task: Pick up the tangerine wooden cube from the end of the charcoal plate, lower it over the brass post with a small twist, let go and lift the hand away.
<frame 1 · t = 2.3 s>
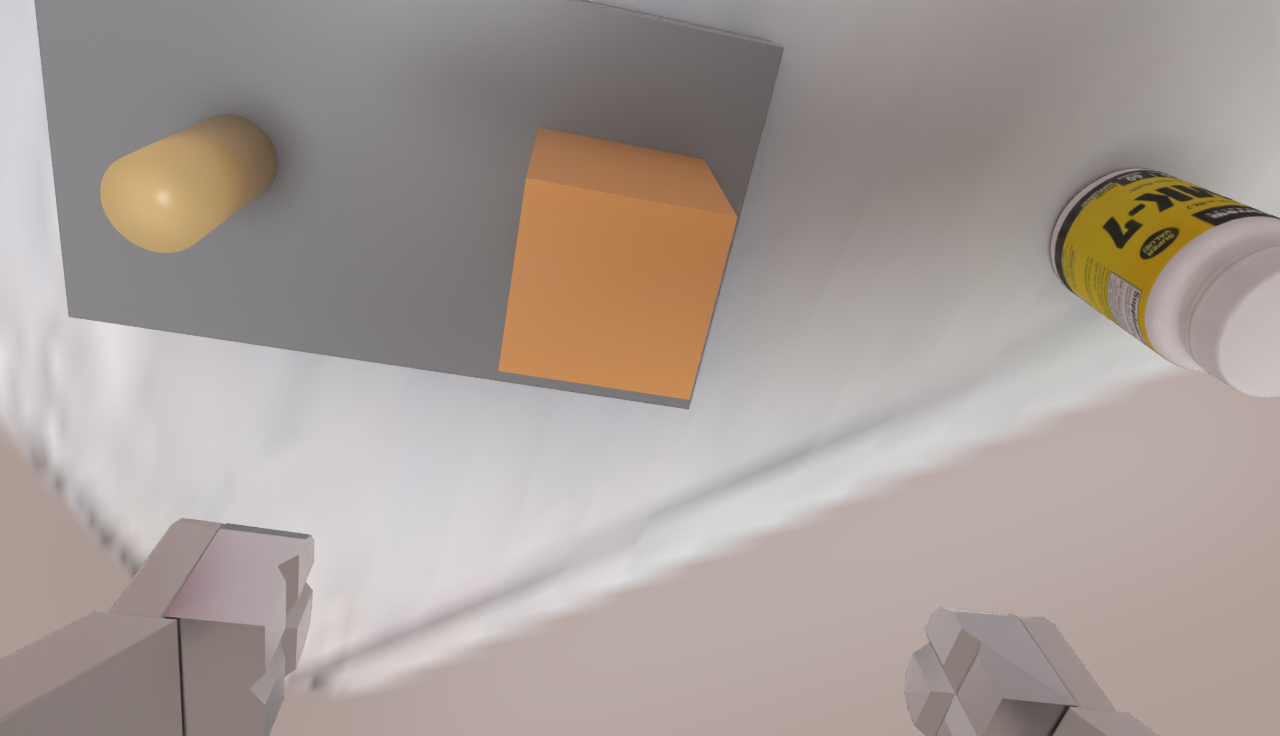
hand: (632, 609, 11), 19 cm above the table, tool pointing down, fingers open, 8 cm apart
tangerine wooden cube: (607, 224, 26), point 2 cm above the table, touching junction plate
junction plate: (421, 172, 26), on the table
supplement bottle: (1109, 231, 29), on the table
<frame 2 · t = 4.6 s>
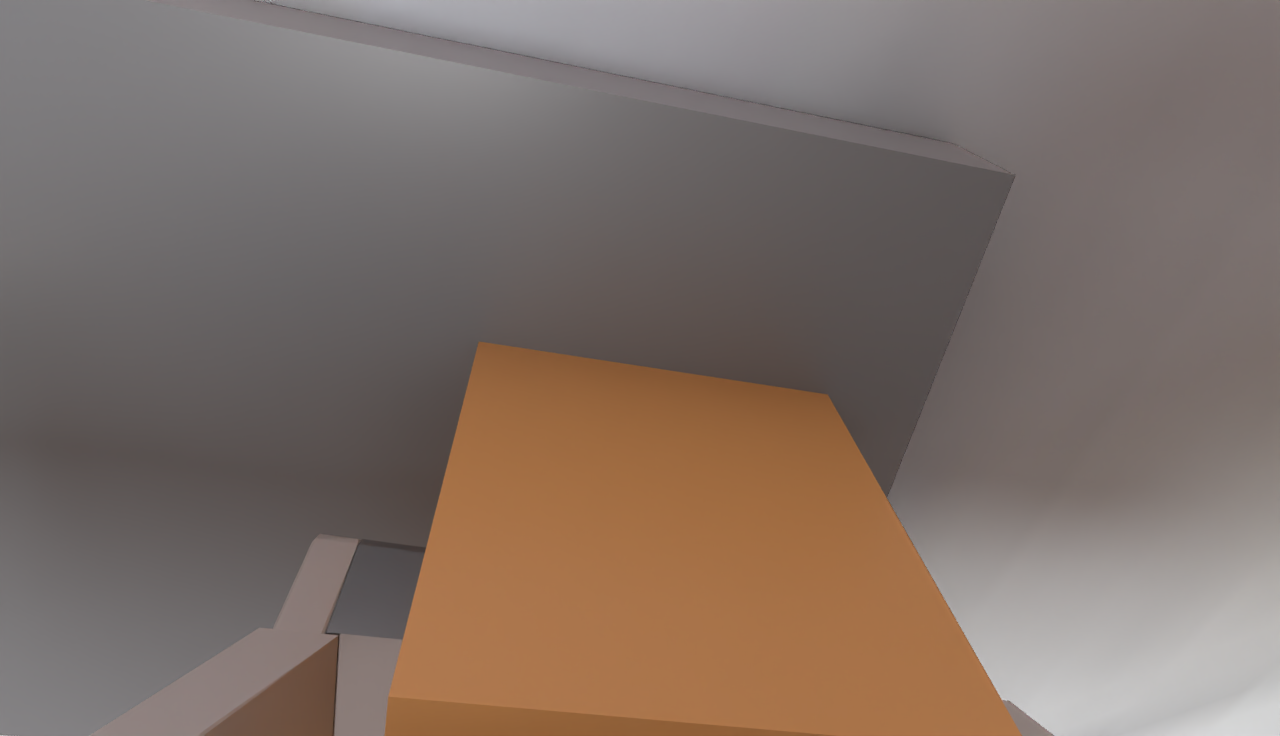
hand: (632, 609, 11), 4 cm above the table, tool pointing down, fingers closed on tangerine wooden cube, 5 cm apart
tangerine wooden cube: (624, 513, 13), point 2 cm above the table, touching gripper
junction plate: (256, 394, 14), on the table
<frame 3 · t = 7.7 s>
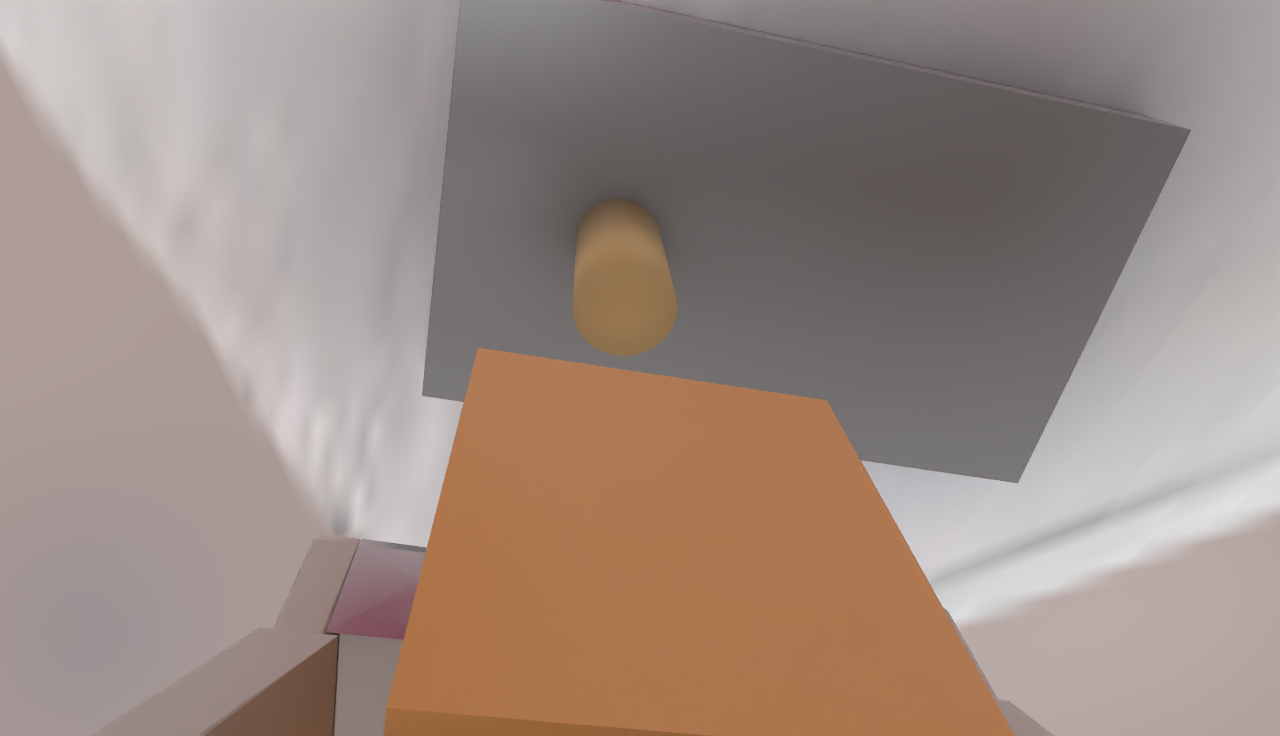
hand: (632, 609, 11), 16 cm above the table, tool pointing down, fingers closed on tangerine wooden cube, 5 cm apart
tangerine wooden cube: (623, 518, 13), point 14 cm above the table, touching gripper
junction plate: (773, 247, 26), on the table
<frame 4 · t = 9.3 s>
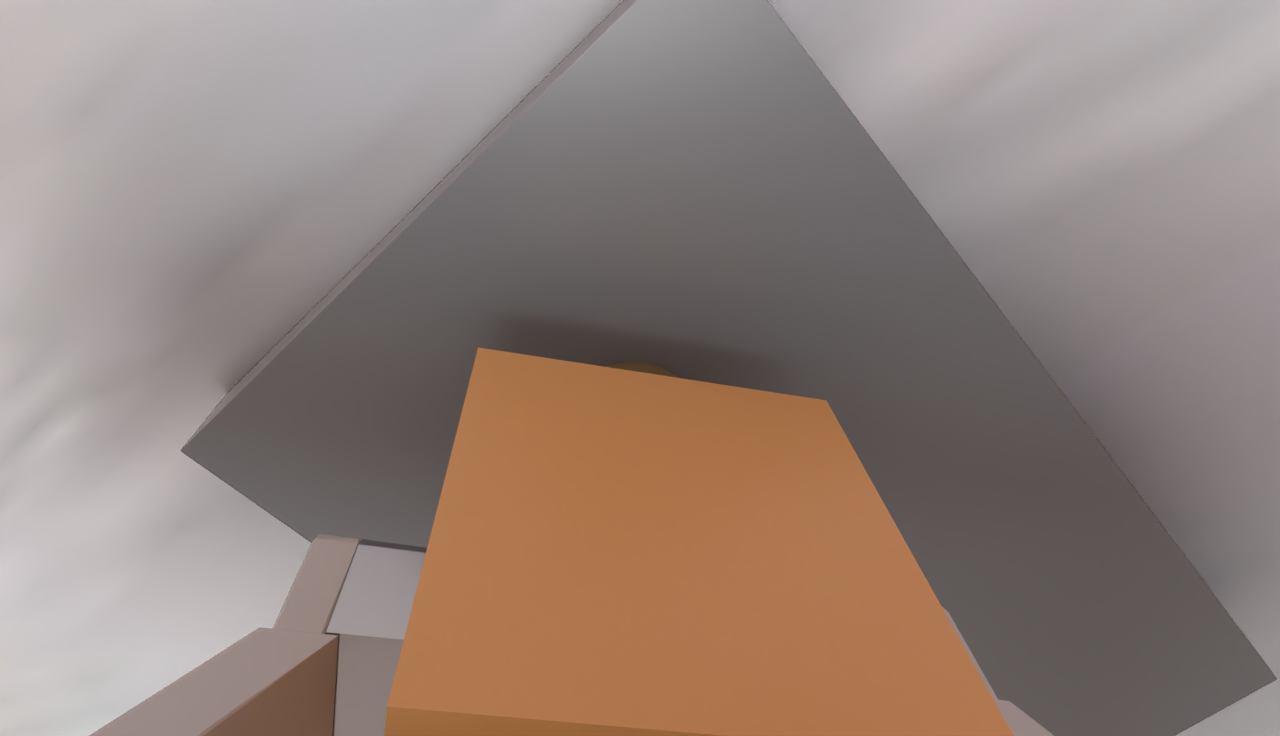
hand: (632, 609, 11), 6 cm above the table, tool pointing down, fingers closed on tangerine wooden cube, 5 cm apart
tangerine wooden cube: (623, 518, 13), point 4 cm above the table, touching gripper
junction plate: (778, 518, 18), on the table
when the fingers open (5 cm above the table, at t = 10.8 s): tangerine wooden cube stays where it is, resting on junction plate.
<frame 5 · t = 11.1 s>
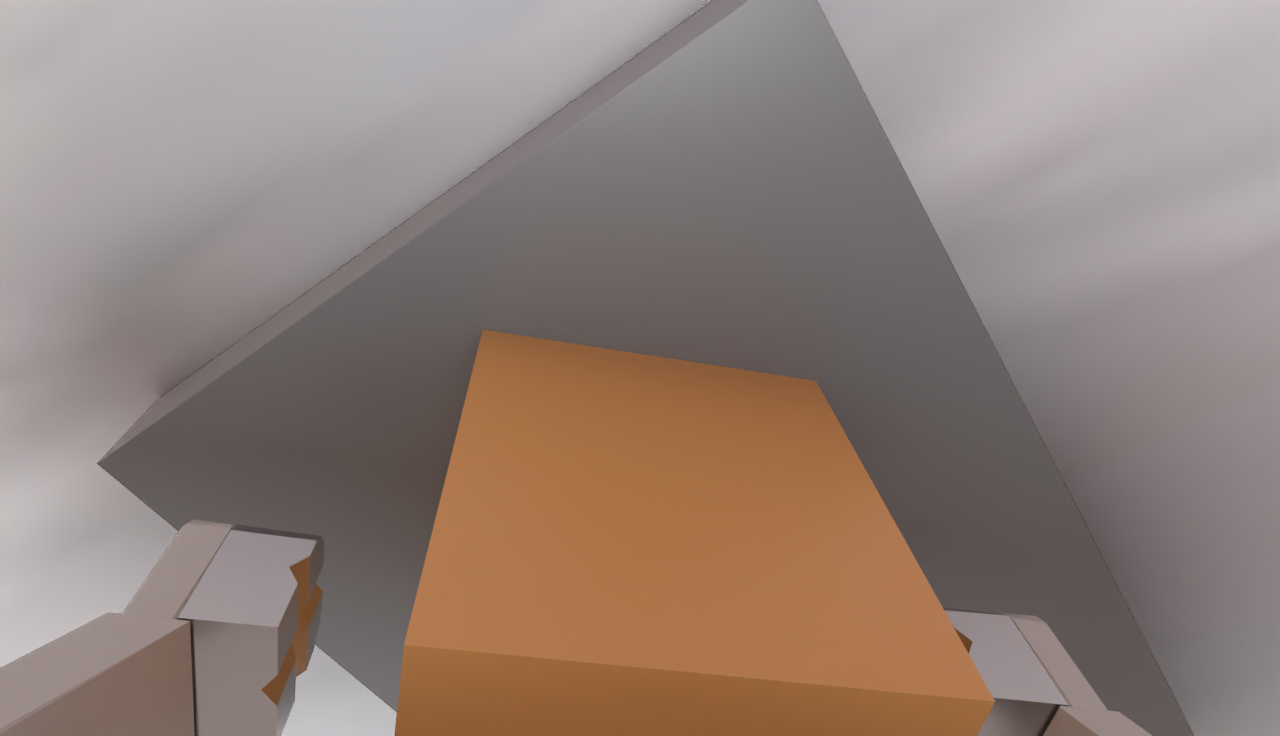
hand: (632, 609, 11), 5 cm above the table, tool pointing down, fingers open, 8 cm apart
tangerine wooden cube: (622, 495, 13), point 2 cm above the table, touching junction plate
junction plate: (752, 596, 17), on the table
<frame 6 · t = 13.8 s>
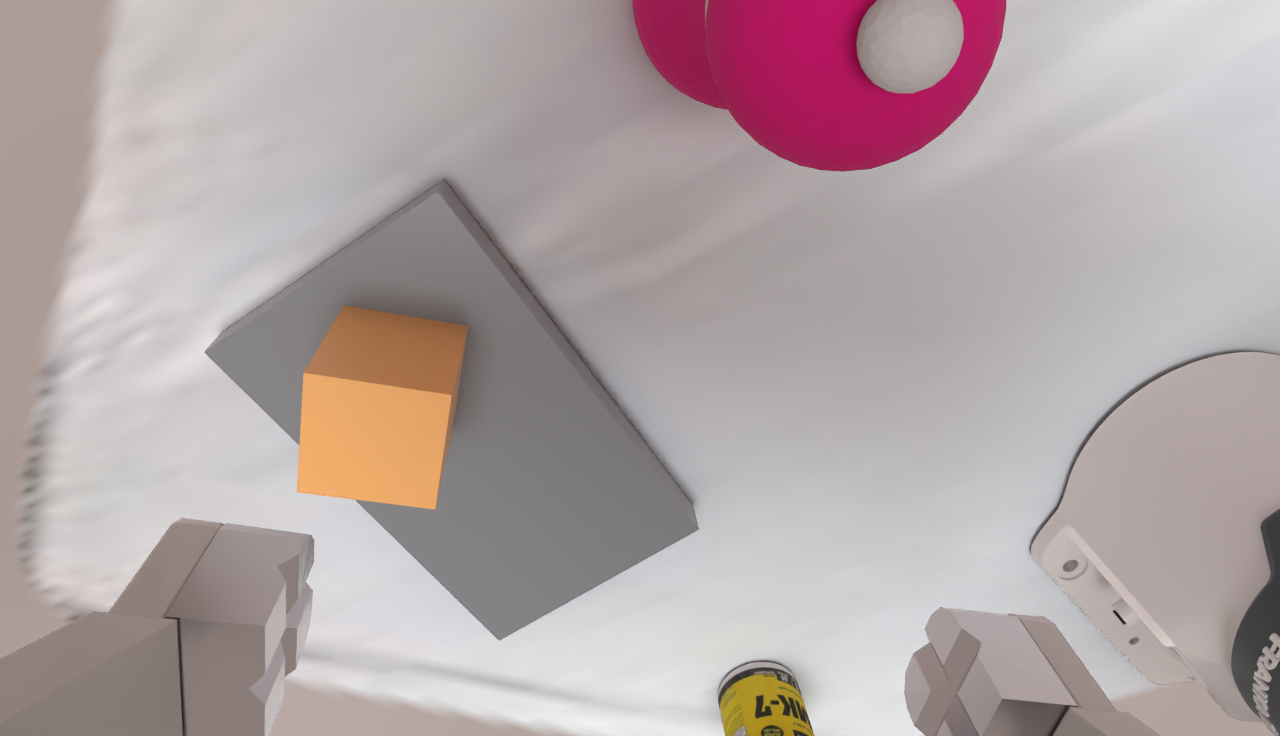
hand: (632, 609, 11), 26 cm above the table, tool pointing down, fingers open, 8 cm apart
tangerine wooden cube: (400, 369, 35), point 2 cm above the table, touching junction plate
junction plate: (476, 425, 39), on the table
supplement bottle: (755, 685, 49), on the table
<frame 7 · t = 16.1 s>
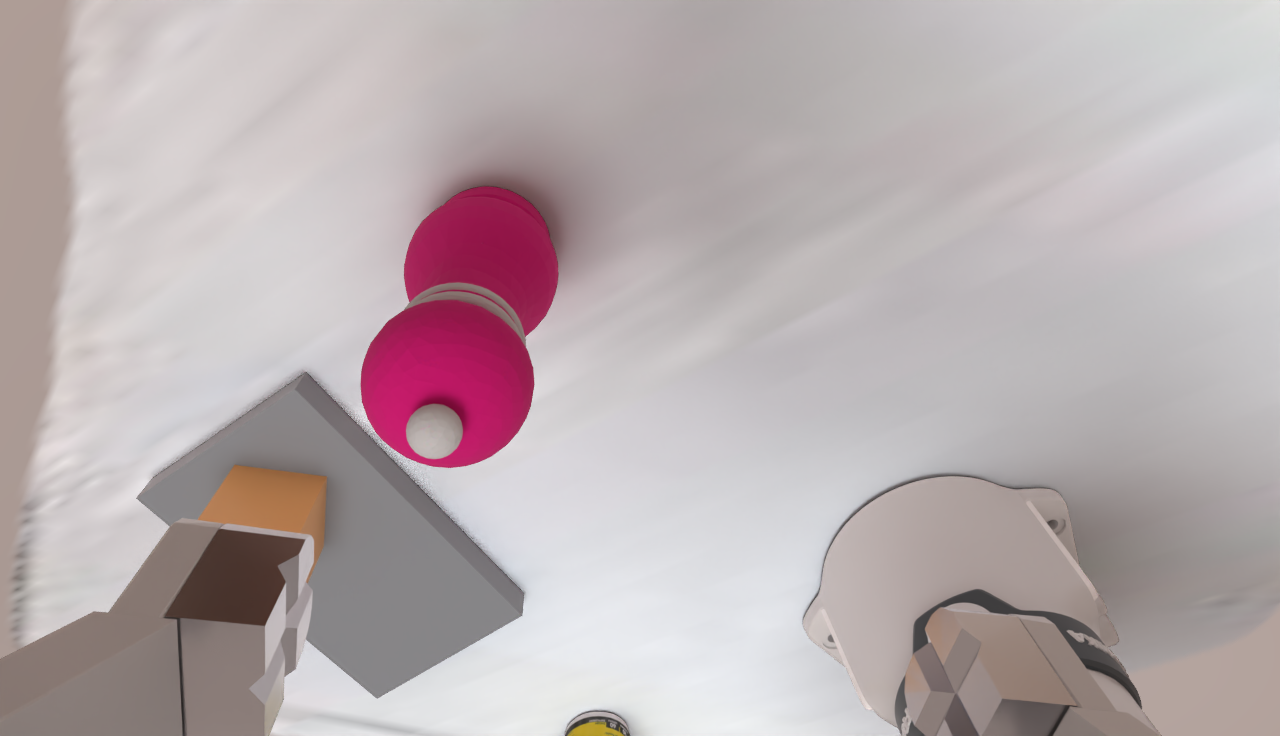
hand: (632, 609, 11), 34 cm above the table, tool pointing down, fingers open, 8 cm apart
tangerine wooden cube: (280, 506, 48), point 2 cm above the table, touching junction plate
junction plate: (348, 539, 51), on the table
pepper mill: (491, 243, 44), on the table
supplement bottle: (596, 729, 61), on the table
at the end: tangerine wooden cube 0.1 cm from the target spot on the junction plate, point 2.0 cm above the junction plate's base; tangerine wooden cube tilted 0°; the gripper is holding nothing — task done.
